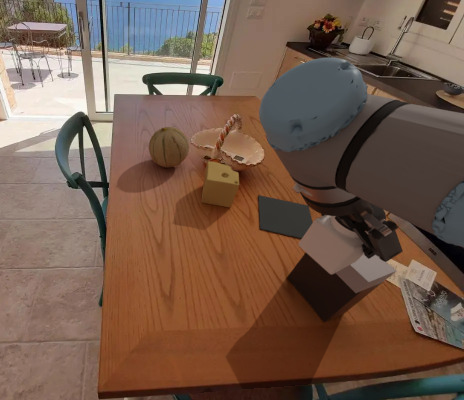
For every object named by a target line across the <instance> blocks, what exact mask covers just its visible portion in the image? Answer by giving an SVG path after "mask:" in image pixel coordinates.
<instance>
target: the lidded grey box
mask: <svg viewBox="0 0 464 400" xmlns="http://www.w3.org/2000/svg"><path fill="white" fill-rule="evenodd" d="M397 271H398V270H396V268H394V267H393V266H392V265H391V264H389V263H388V261H387V262H384V261H382V260H381V259H380V257H379V256H376V255H374V256H373V257H371V258H370V259H368V258H367V257H366V256H365V255H364V254H363V255H362V256H361V257H360V258H359V259H358V260H357V261H356V262H354V263H352V264H350V265H349V266H347V267H345V268H343V269H341V270H340V271H338V272H336V273H334V274H332V275H331V274H329V273H328V272H327V271H326V270H325V269H324V268H323V267H322V266H321V265H319V264H318V263H317V262H316V261H315V260H314V259H313V258H312V257H311V256H309V255H308V254H307V253H306V252H304V254H303V255H302V257H301V258H300V259H299V261H298V262H297V263H296V264H295V265H294V267H293V268H292V270H291V271H290V273H289V274H288V275H287V277H286V278H287V280H288V281H289V282H290V283H291V285H293V287H294V288H295V289H296V291H297V292H298V293H299V294H300V295H301V296H302V298H303V299H304V300H305V302H307V304H308V305H309V307H311V309H312V310H313V311H314V312H315V313H316V315H317V316H318V317H319V318H320V319H321V320H322V322H323V323H326V322H329V321H331V320H333V319H336V318H338V317H340V316H343V315H345V314H346V313H347V312H348V311H349V310H350V309H352V308H353V307H354V306H355V305H357V304H358V303H359V302H360V301H362V300H363V299H364V298H366V297H367V296H368V295H369V294H370V293H372V292H373V291H374V290H375V289H376V288H378V287H379V286H380V285H381V284H383V283H384V282H385V281H386V280H388V279H389V278H390V277H391V276H393V275H394V274H395V273H396V272H397Z"/></svg>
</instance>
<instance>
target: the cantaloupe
mask: <svg viewBox="0 0 464 400" xmlns="http://www.w3.org/2000/svg"><path fill="white" fill-rule="evenodd" d="M189 152H190V142H189V139H188V137H187V136H186V134H185V133H184V132H183V131H182V130H181V129H180V128H177V127H175V126H166V127H161V128H159V129H157V130H156V131H155V132H154V133H153V134H152V136H151V137H150V139H149V143H148V153H149V155H150V158H151V159H152V161H153V162H154V163H155V164H156V165H158V166H160V167H162V168H176V167H177V166H180V165H181V164H182V163H183V162H184V161H185V160H186V159H187V157H188V155H189Z"/></svg>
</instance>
